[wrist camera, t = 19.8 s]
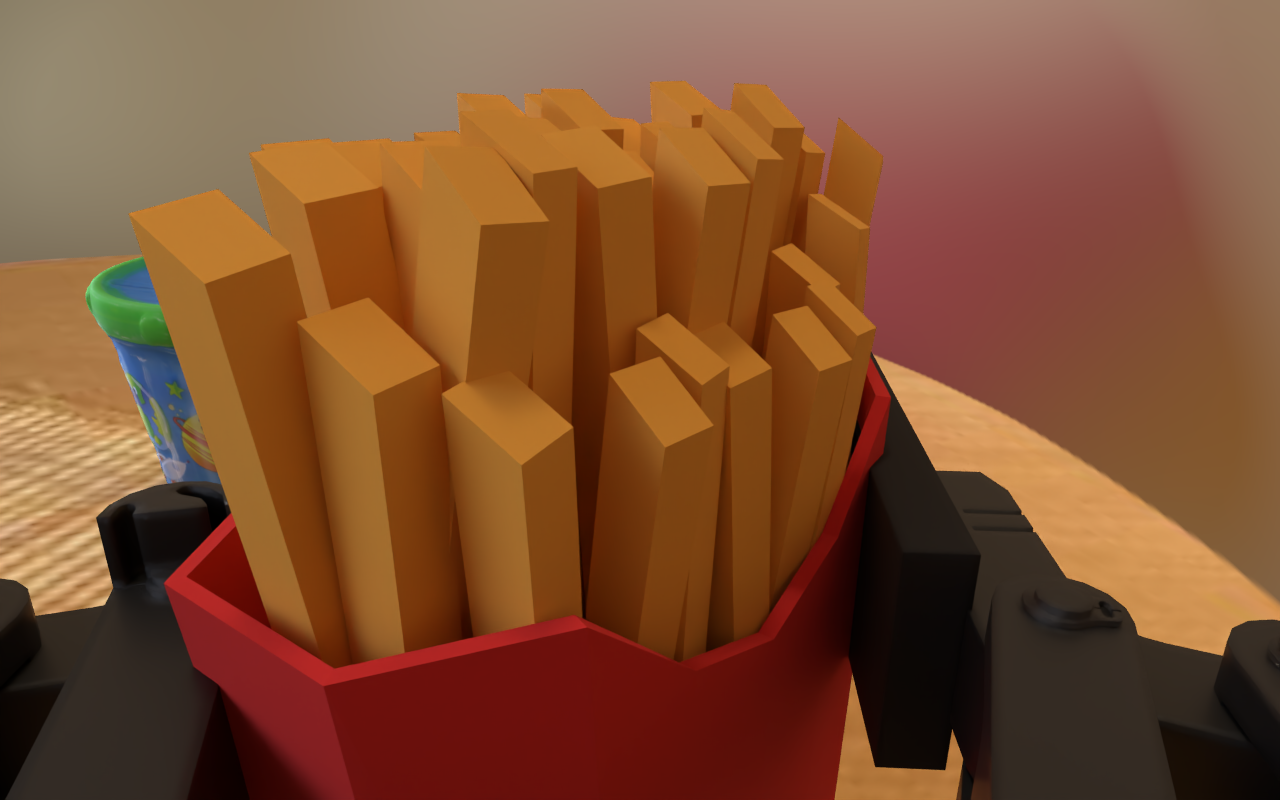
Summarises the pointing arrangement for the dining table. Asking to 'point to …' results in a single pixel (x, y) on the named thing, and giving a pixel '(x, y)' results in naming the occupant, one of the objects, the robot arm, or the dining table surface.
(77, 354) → the dining table surface
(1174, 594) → the dining table surface
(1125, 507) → the dining table surface
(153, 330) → the snack cup
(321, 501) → the french fries
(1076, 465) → the dining table surface
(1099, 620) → the robot arm
